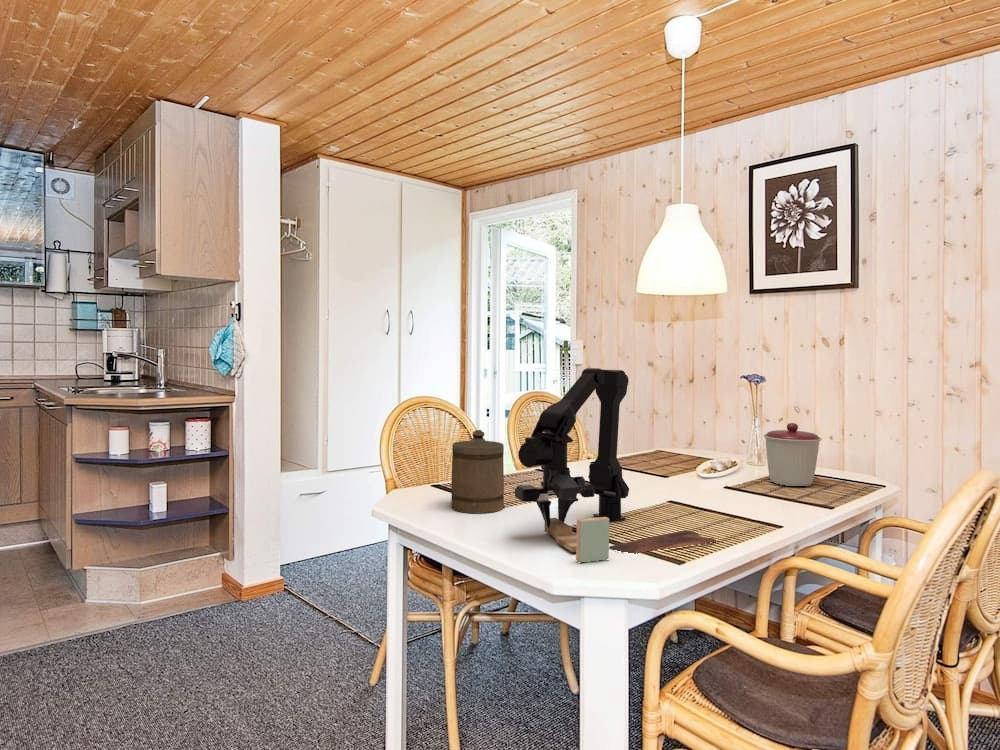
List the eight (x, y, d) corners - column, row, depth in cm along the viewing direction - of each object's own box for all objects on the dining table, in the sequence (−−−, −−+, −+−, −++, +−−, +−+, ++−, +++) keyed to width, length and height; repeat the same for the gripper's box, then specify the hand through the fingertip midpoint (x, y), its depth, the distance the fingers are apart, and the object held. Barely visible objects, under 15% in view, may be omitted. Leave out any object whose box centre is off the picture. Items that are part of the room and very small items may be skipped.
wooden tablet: (631, 554, 139) (603, 537, 148) (630, 564, 139) (602, 546, 148) (720, 539, 152) (689, 524, 160) (719, 548, 152) (688, 532, 161)
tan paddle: (540, 531, 157) (540, 519, 157) (559, 529, 159) (559, 517, 159) (571, 551, 141) (571, 538, 141) (591, 549, 143) (592, 536, 143)
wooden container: (483, 499, 194) (484, 426, 193) (514, 509, 182) (515, 431, 181) (441, 505, 185) (442, 429, 184) (470, 516, 173) (471, 435, 172)
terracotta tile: (576, 561, 137) (576, 519, 137) (605, 558, 139) (606, 516, 139) (579, 563, 135) (580, 521, 135) (609, 560, 138) (609, 518, 137)
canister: (754, 478, 230) (756, 419, 229) (806, 479, 229) (807, 420, 228) (774, 489, 212) (775, 425, 211) (830, 490, 211) (832, 426, 210)
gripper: (532, 470, 144) (531, 539, 145) (606, 466, 151) (605, 532, 151) (514, 462, 155) (513, 526, 155) (584, 458, 161) (583, 520, 162)
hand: (554, 526), depth 156 cm, fingers closed on tan paddle, 3 cm apart
